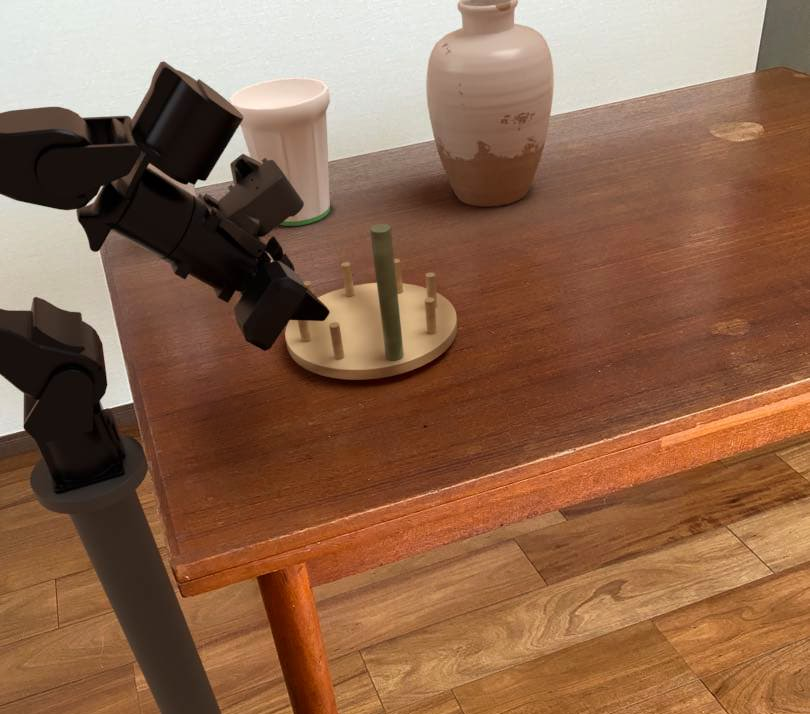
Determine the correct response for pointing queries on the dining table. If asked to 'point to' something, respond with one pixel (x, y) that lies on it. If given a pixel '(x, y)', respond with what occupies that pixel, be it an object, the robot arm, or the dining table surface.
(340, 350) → the wooden peg board
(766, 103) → the dining table surface
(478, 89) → the vase
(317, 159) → the cup
